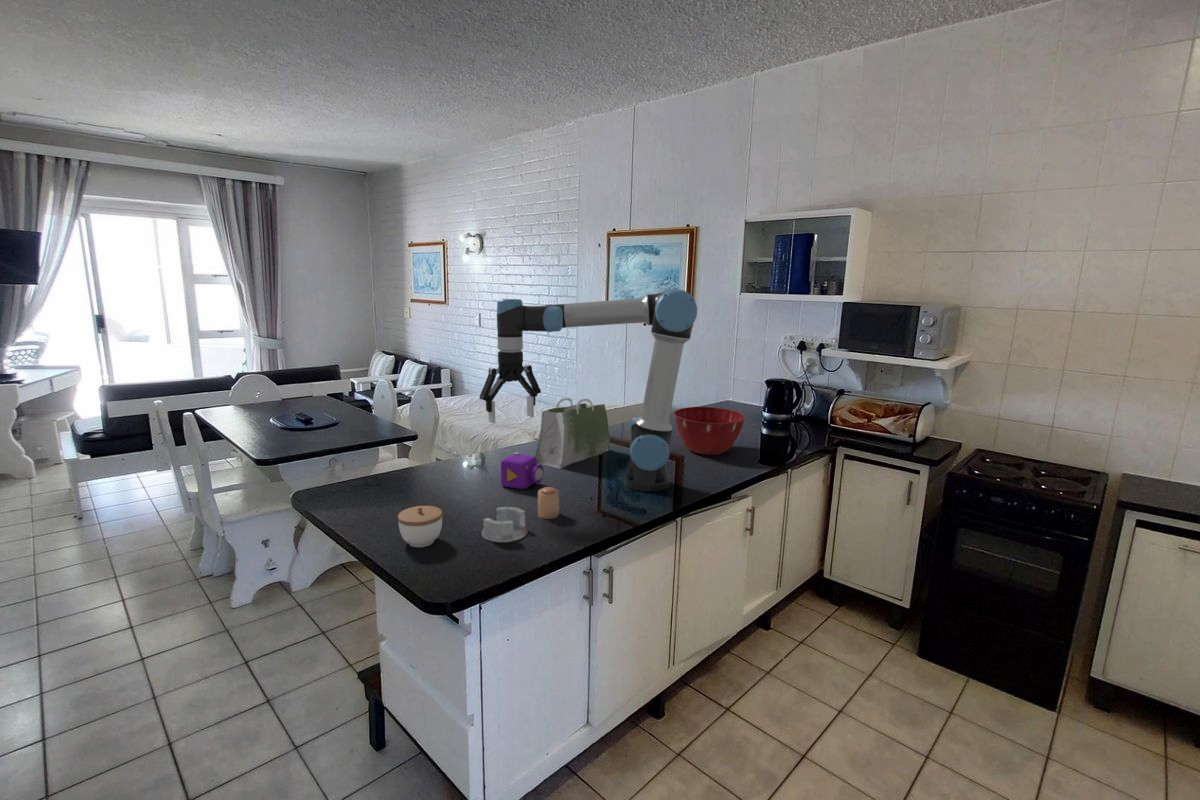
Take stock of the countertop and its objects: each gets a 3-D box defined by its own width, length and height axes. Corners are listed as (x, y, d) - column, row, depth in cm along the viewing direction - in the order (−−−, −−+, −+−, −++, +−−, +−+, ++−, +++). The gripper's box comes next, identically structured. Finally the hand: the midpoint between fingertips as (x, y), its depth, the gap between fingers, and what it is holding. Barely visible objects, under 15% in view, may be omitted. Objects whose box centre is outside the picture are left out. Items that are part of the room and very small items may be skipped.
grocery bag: (584, 444, 237) (584, 390, 232) (611, 450, 229) (612, 394, 224) (532, 462, 211) (532, 401, 207) (561, 469, 203) (561, 406, 199)
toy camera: (538, 492, 180) (538, 462, 178) (498, 489, 182) (497, 459, 180) (548, 481, 190) (548, 453, 188) (509, 478, 193) (509, 450, 191)
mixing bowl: (750, 461, 217) (753, 422, 214) (676, 460, 217) (678, 421, 214) (734, 442, 244) (736, 407, 241) (668, 440, 245) (670, 406, 242)
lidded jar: (405, 533, 148) (403, 499, 147) (446, 532, 149) (445, 499, 147) (394, 552, 138) (392, 516, 136) (439, 551, 139) (437, 515, 137)
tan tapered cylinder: (561, 512, 165) (561, 487, 163) (555, 519, 159) (555, 494, 157) (542, 509, 166) (542, 485, 165) (534, 517, 160) (534, 492, 159)
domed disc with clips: (534, 526, 154) (533, 509, 153) (517, 545, 143) (517, 526, 142) (493, 521, 157) (493, 504, 156) (473, 539, 146) (473, 521, 145)
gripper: (538, 347, 181) (538, 411, 185) (466, 352, 165) (469, 422, 169) (551, 349, 175) (551, 415, 179) (478, 354, 160) (480, 427, 164)
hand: (511, 419), depth 174 cm, fingers open, 13 cm apart
